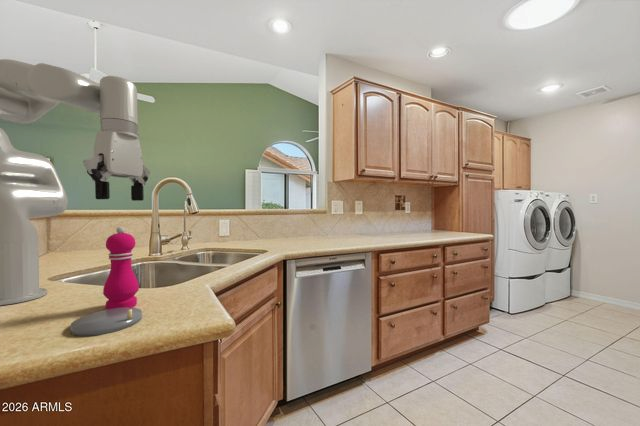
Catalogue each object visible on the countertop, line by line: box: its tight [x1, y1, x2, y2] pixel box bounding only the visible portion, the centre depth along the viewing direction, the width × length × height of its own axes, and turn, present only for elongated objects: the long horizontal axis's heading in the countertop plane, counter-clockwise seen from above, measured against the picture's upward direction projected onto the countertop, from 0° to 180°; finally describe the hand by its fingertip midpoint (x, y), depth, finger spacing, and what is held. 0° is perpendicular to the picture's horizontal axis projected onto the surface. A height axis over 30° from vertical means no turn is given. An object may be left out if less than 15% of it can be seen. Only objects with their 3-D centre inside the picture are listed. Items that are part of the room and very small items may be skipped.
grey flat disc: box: [70, 307, 143, 337], centre depth 59 cm, size 12×12×3 cm
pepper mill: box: [102, 226, 140, 310], centre depth 68 cm, size 7×7×20 cm
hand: (121, 199), depth 68 cm, fingers open, 9 cm apart
